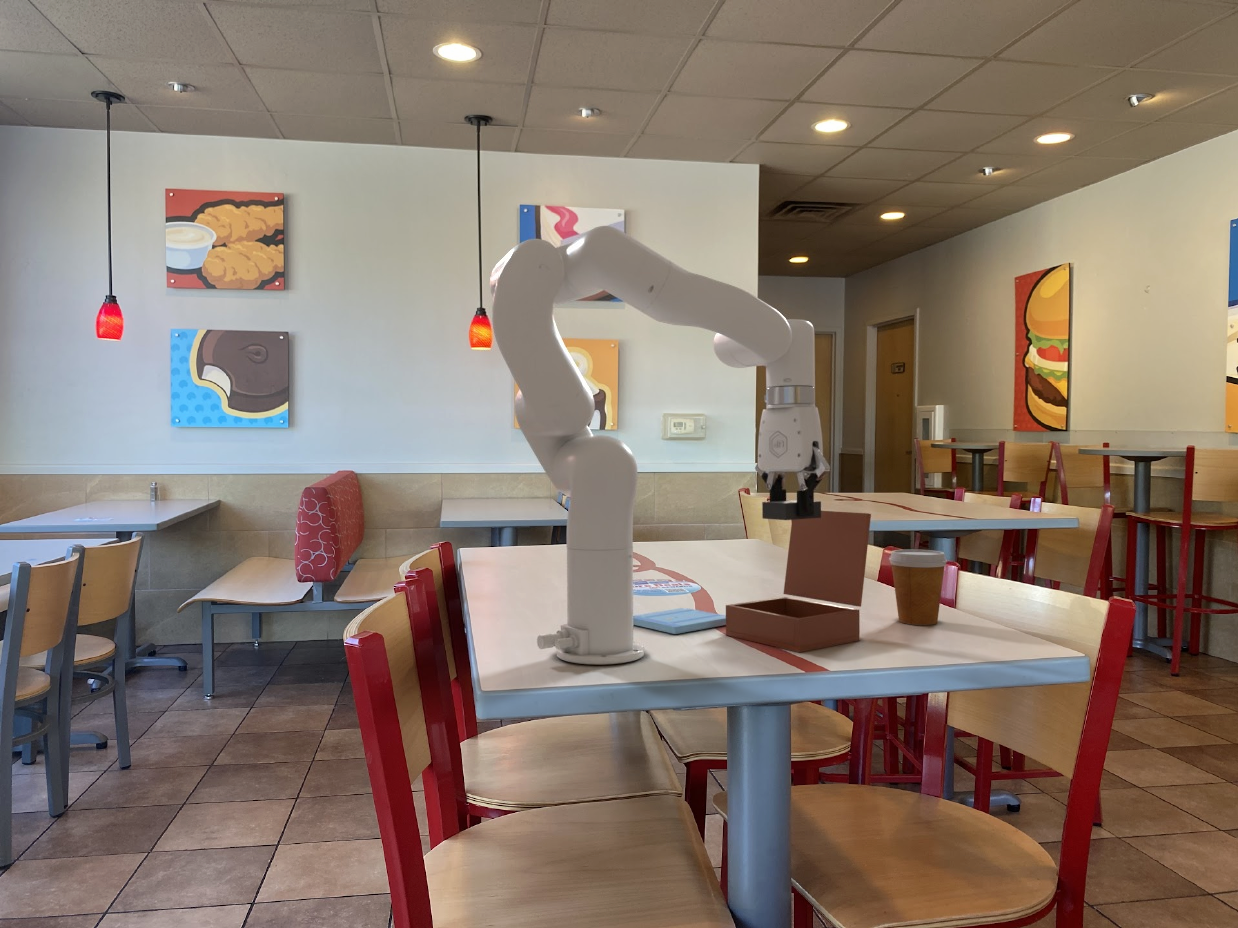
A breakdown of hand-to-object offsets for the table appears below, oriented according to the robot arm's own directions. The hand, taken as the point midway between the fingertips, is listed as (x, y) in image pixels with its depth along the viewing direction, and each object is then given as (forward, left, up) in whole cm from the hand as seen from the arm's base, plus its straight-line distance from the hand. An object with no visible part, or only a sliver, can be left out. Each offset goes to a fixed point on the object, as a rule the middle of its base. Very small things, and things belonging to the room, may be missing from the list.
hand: (791, 514), depth 136 cm
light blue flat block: (-7, +19, -20) cm, 28 cm away
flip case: (0, 0, -19) cm, 19 cm away
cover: (+8, 0, -7) cm, 10 cm away
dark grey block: (0, 0, -1) cm, 1 cm away
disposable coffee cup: (+27, -4, -20) cm, 34 cm away
